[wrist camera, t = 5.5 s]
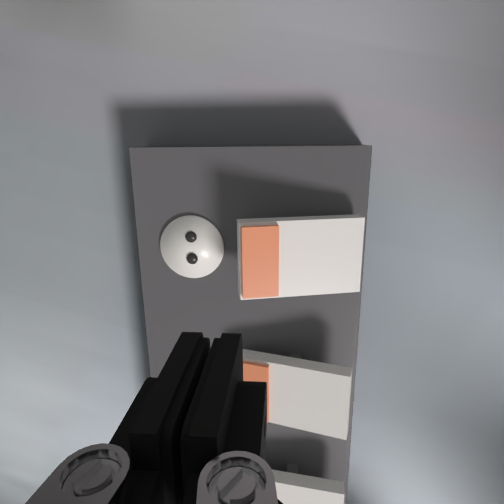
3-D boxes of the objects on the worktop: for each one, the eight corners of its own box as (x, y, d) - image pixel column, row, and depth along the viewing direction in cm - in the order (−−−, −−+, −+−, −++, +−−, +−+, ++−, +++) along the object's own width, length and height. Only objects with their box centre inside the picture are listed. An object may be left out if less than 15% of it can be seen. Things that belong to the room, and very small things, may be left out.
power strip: (362, 144, 25) (374, 146, 21) (333, 587, 35) (338, 638, 32) (146, 146, 26) (123, 148, 22) (181, 573, 37) (169, 620, 33)
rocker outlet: (357, 214, 23) (367, 218, 21) (352, 285, 24) (361, 293, 23) (236, 219, 22) (239, 224, 20) (238, 293, 23) (241, 302, 22)
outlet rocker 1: (352, 367, 23) (350, 380, 22) (348, 429, 25) (345, 443, 24) (243, 348, 26) (235, 358, 25) (244, 405, 27) (237, 418, 26)
